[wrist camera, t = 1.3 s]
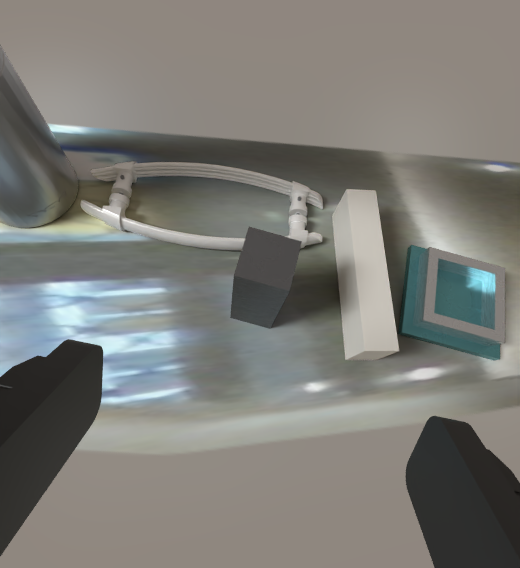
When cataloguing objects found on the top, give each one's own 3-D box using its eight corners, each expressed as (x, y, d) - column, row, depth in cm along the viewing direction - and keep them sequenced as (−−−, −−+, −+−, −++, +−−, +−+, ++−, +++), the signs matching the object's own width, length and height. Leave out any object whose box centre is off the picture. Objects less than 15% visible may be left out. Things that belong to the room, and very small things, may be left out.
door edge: (375, 360, 35) (399, 351, 30) (345, 360, 35) (364, 350, 30) (358, 216, 41) (375, 190, 36) (332, 215, 40) (346, 189, 36)
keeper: (398, 334, 36) (412, 327, 34) (408, 248, 40) (421, 236, 37) (494, 360, 36) (515, 355, 34) (495, 272, 40) (514, 262, 37)
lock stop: (230, 317, 35) (233, 275, 25) (241, 280, 37) (248, 226, 26) (270, 328, 35) (289, 290, 25) (279, 291, 37) (301, 241, 26)
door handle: (103, 161, 40) (321, 188, 42) (80, 238, 37) (320, 265, 38) (95, 144, 38) (328, 173, 39) (70, 225, 34) (327, 254, 36)
